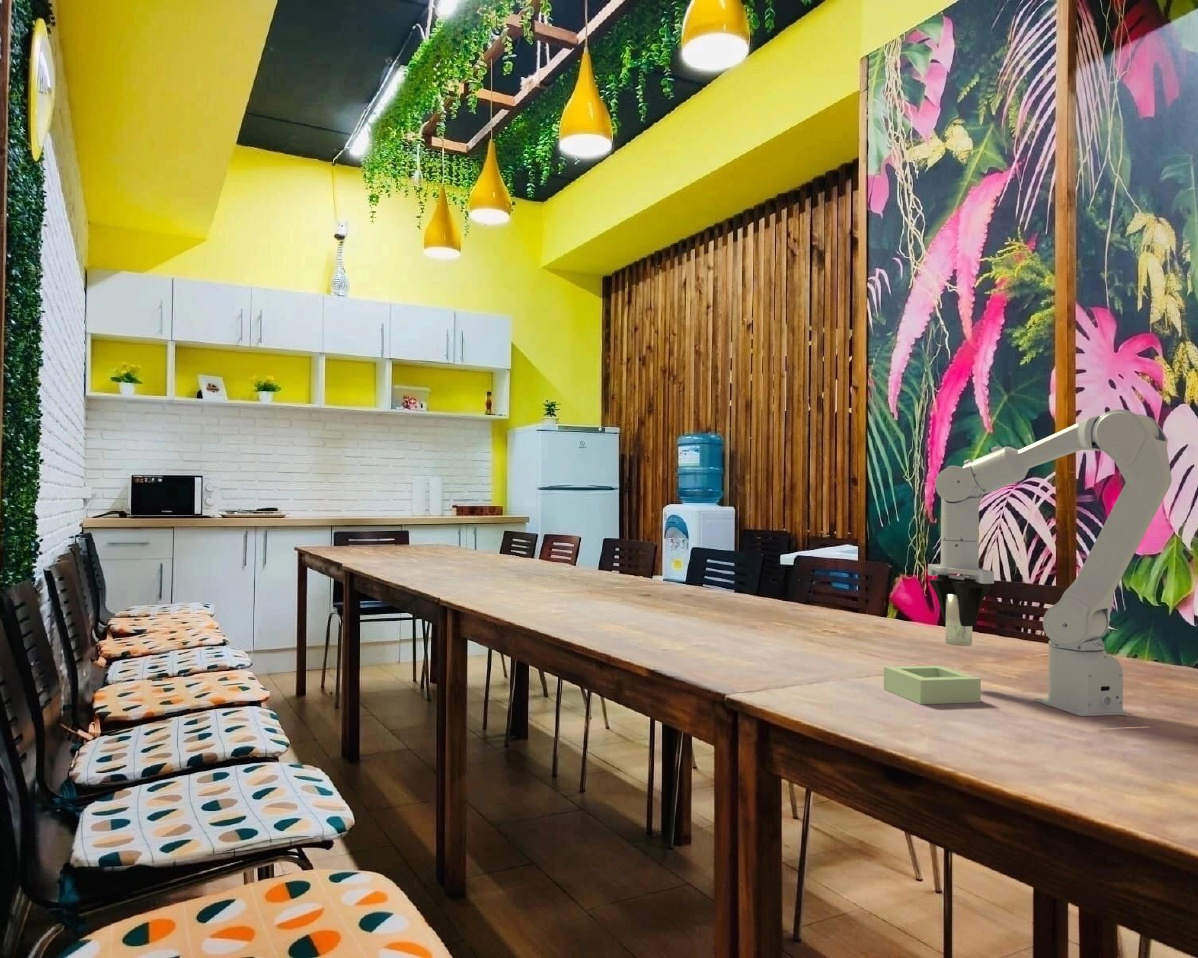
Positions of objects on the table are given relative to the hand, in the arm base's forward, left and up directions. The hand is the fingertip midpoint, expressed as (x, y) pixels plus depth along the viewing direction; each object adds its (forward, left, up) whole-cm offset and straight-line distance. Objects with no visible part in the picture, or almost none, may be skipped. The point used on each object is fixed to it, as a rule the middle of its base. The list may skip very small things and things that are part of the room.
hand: (958, 623), depth 138 cm
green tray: (-6, +9, -10) cm, 15 cm away
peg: (0, 0, -3) cm, 3 cm away
